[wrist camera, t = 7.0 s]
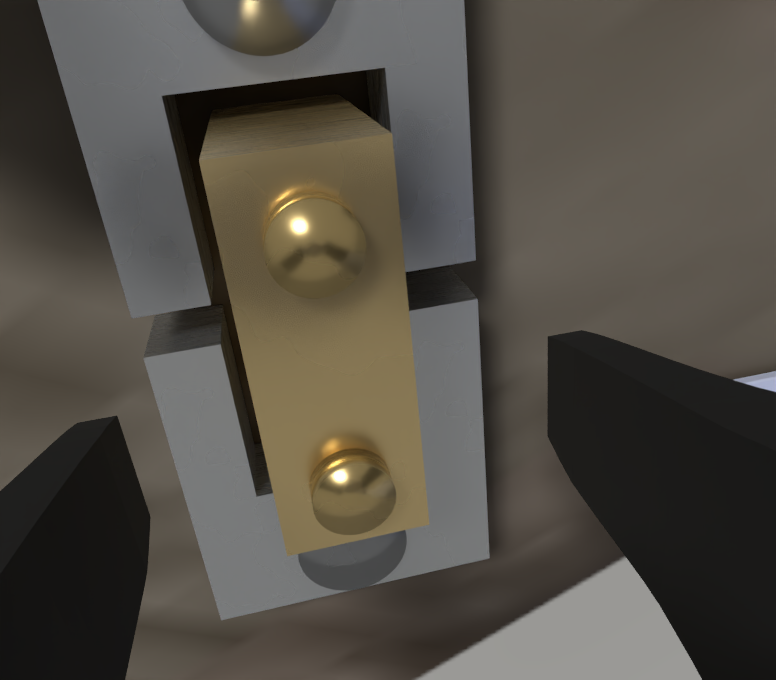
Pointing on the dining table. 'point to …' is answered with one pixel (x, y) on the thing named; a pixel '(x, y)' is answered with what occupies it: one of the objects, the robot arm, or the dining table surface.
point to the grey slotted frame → (196, 270)
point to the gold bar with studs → (320, 313)
